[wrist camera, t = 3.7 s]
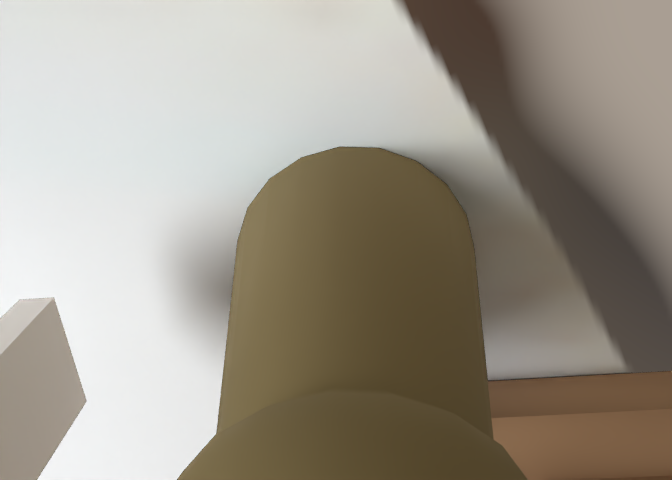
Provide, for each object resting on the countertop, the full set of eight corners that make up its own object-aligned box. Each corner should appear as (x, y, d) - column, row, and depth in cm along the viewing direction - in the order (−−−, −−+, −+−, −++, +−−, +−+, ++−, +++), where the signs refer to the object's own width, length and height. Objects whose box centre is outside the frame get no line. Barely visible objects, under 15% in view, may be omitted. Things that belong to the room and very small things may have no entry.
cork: (419, 102, 14) (578, 462, 4) (507, 311, 16) (753, 880, 6) (192, 207, 15) (-122, 683, 5) (302, 387, 17) (231, 966, 7)
